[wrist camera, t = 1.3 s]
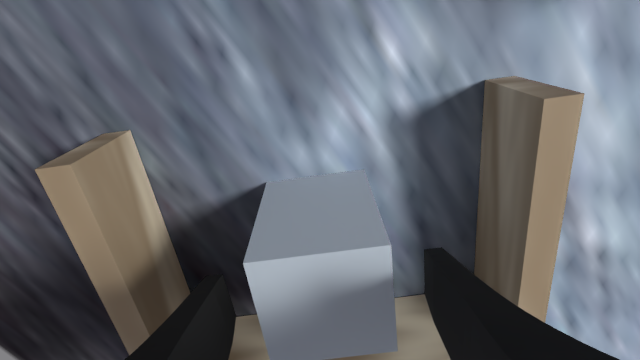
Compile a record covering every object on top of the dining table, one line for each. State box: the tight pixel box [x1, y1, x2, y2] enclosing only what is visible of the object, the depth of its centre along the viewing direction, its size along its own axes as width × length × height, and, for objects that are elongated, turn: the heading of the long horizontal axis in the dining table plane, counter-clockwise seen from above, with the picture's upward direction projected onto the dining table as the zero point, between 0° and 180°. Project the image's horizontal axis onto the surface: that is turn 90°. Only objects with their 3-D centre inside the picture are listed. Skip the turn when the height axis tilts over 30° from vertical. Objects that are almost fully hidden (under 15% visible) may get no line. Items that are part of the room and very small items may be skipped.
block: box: [243, 169, 398, 360], centre depth 14 cm, size 4×4×6 cm
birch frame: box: [35, 76, 584, 360], centre depth 15 cm, size 17×12×4 cm
